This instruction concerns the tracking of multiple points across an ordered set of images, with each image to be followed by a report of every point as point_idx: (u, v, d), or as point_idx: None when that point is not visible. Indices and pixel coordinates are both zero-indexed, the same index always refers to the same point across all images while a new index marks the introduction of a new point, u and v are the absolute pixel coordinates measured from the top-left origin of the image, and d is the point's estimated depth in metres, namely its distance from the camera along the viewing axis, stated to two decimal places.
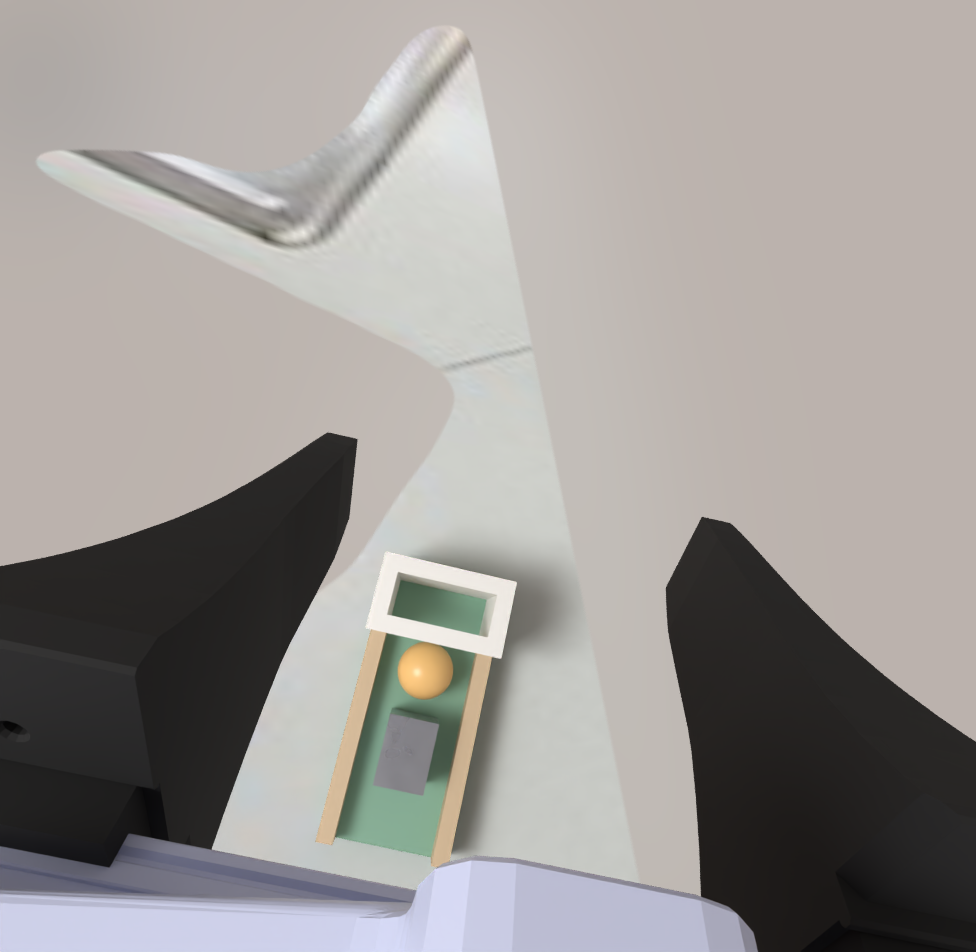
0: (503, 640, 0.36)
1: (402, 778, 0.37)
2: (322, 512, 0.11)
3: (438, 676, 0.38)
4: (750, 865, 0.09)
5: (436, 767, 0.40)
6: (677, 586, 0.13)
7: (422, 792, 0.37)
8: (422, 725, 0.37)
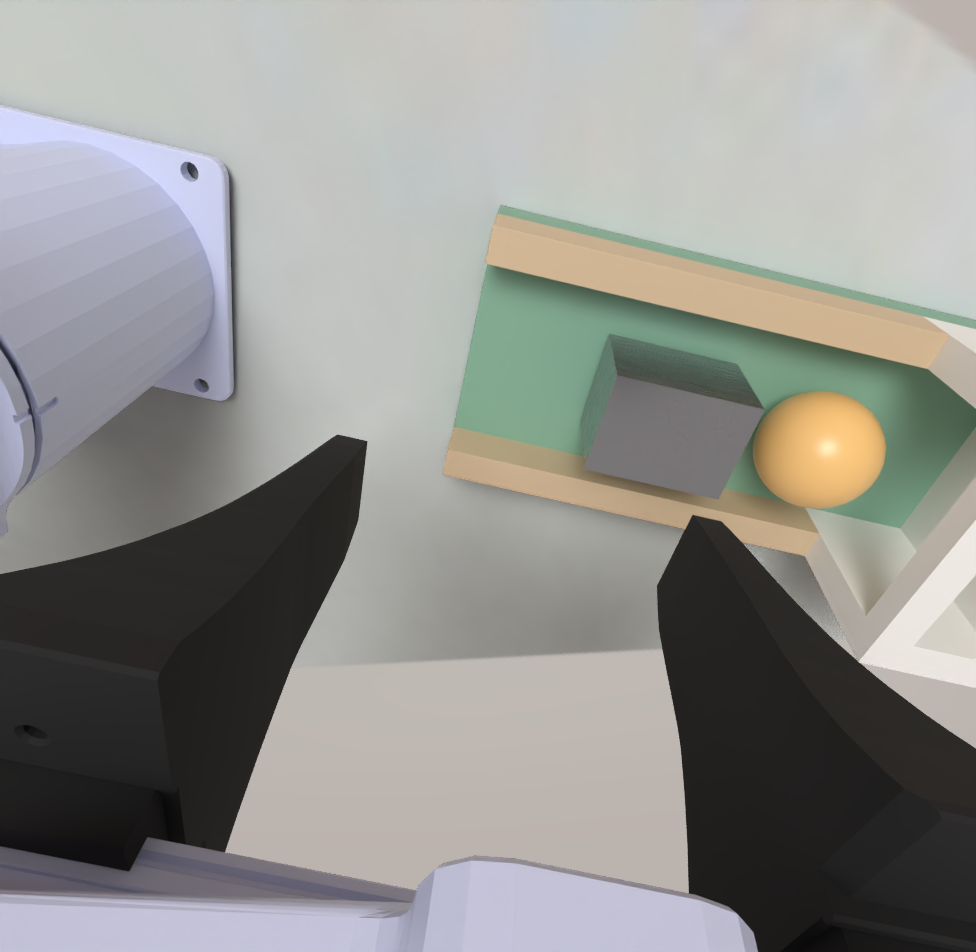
0: (895, 667, 0.17)
1: (622, 432, 0.17)
2: (333, 514, 0.11)
3: (818, 500, 0.18)
4: (736, 862, 0.09)
5: None
6: (668, 584, 0.13)
7: (590, 467, 0.18)
8: (722, 470, 0.18)
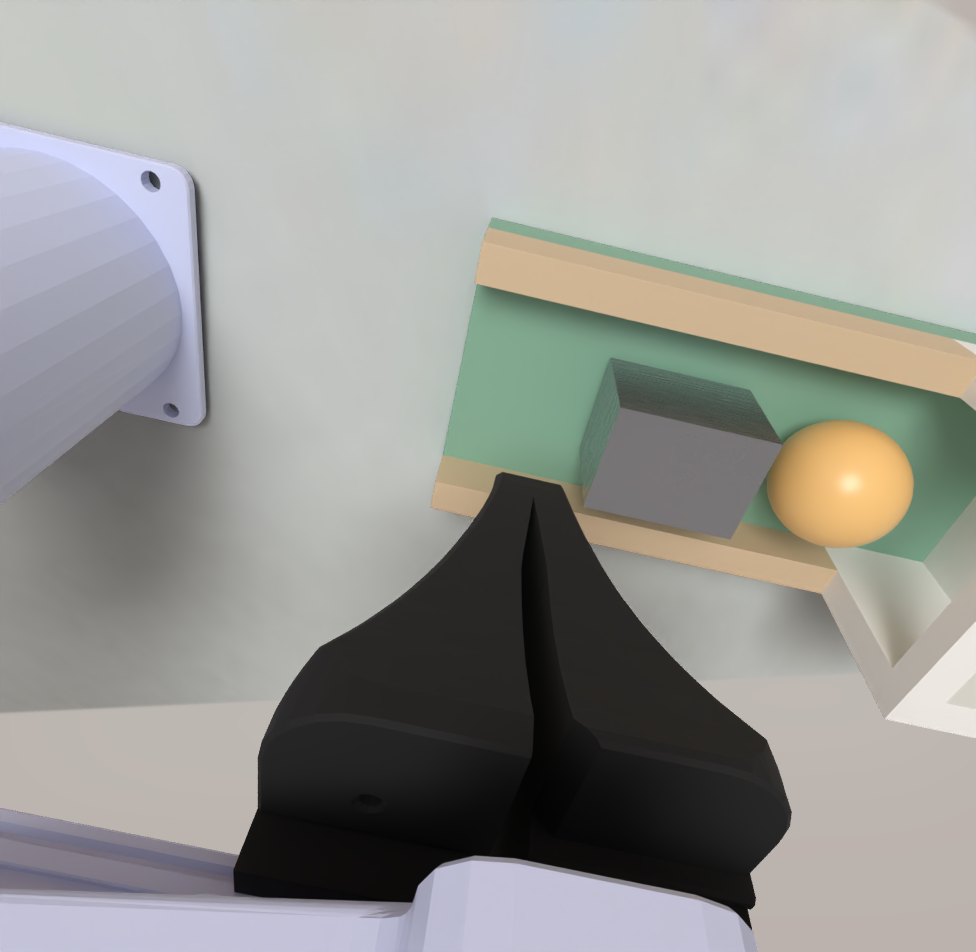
0: (924, 724, 0.16)
1: (625, 468, 0.16)
2: None
3: (839, 541, 0.16)
4: None
5: None
6: None
7: (591, 505, 0.16)
8: (735, 508, 0.16)
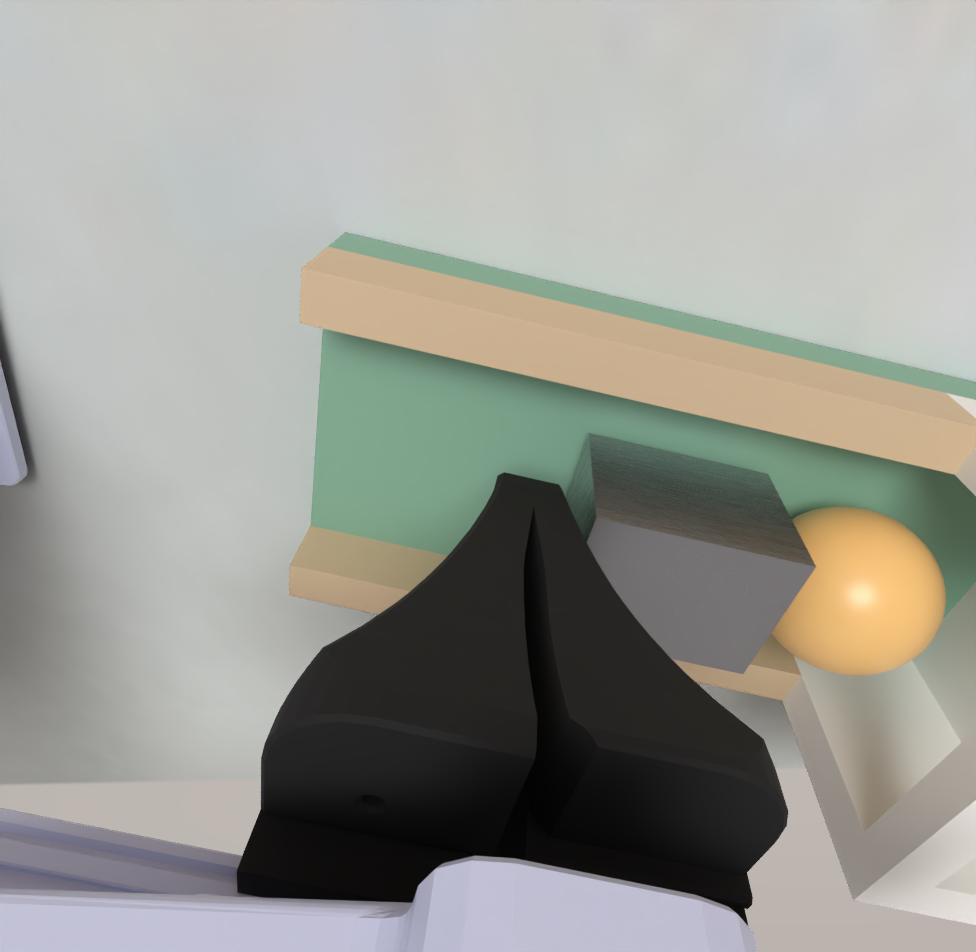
0: (907, 908, 0.12)
1: None
2: None
3: (885, 671, 0.13)
4: None
5: None
6: None
7: None
8: (750, 640, 0.12)
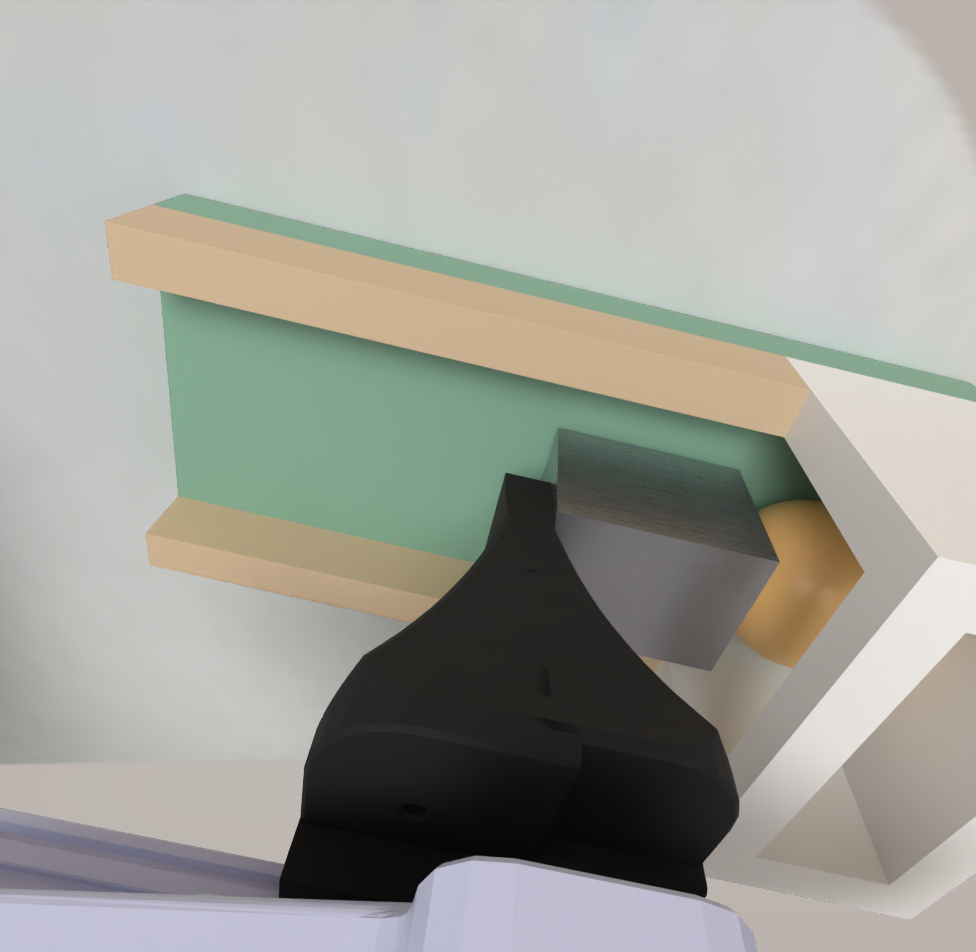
0: (735, 880, 0.12)
1: None
2: None
3: None
4: None
5: (377, 514, 0.15)
6: (487, 544, 0.13)
7: None
8: (716, 636, 0.12)
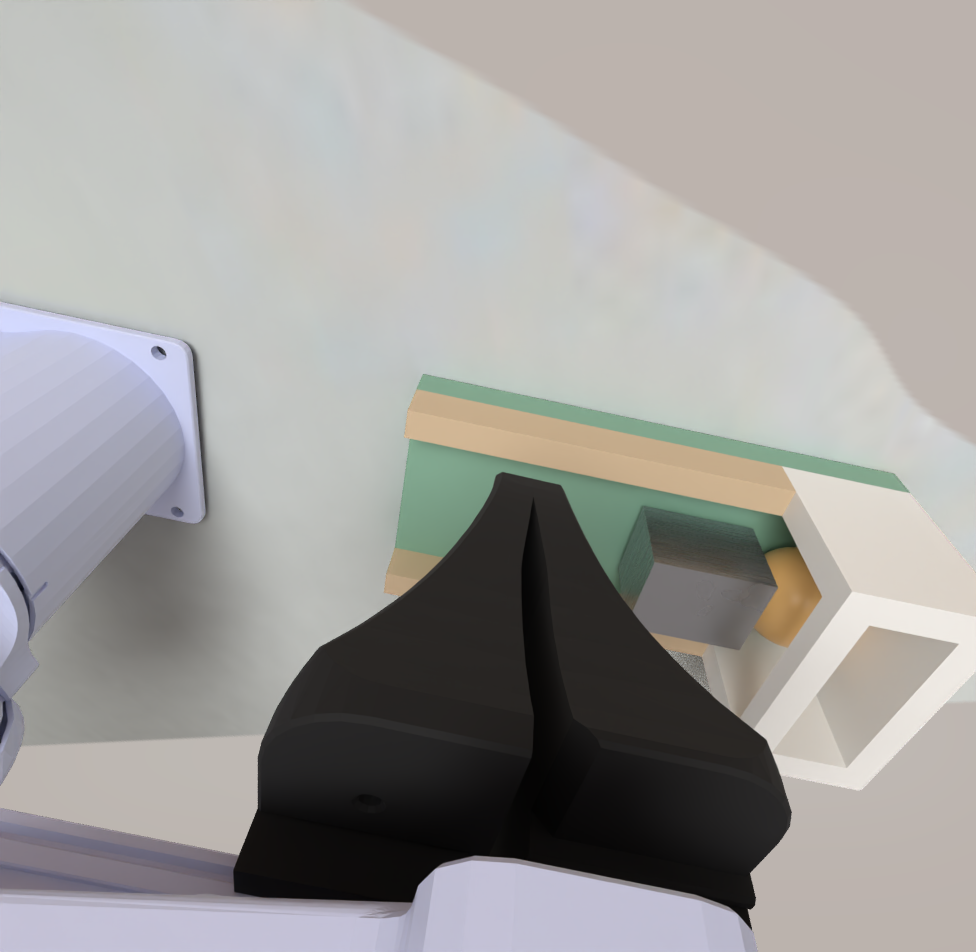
0: None
1: (658, 602, 0.21)
2: None
3: None
4: None
5: None
6: None
7: None
8: (742, 629, 0.21)
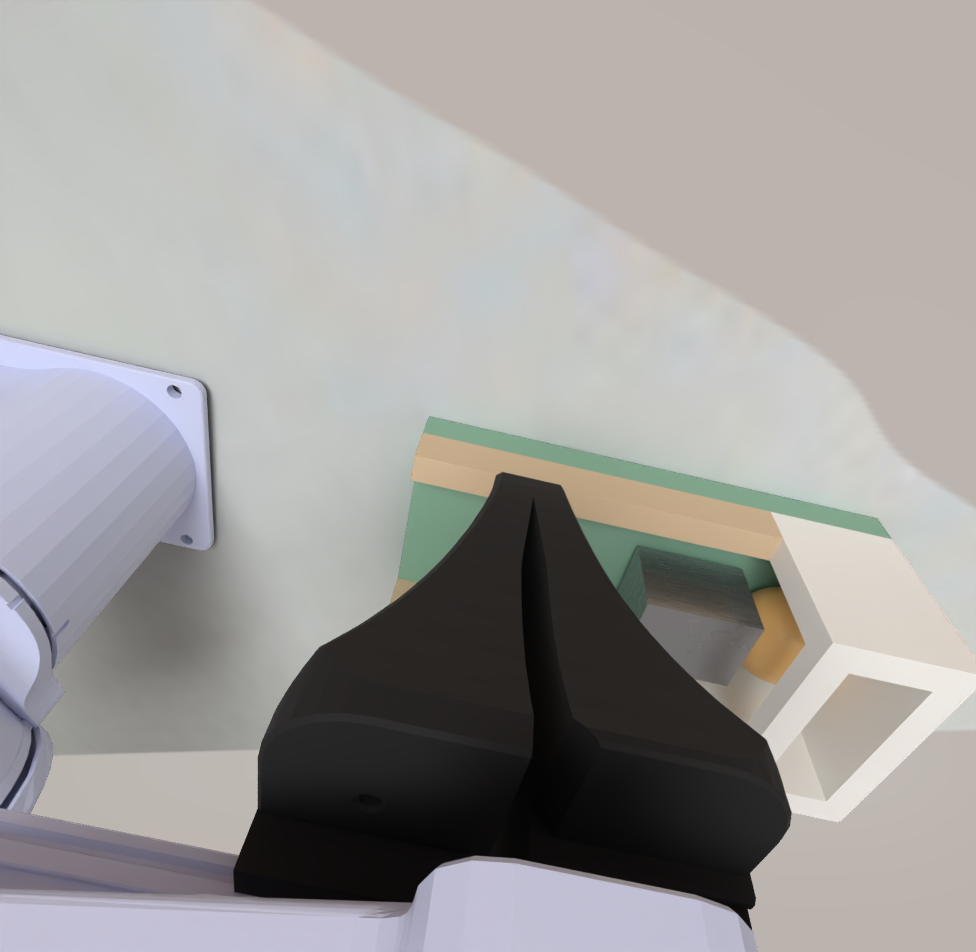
0: None
1: None
2: None
3: None
4: None
5: None
6: None
7: None
8: (730, 667, 0.22)
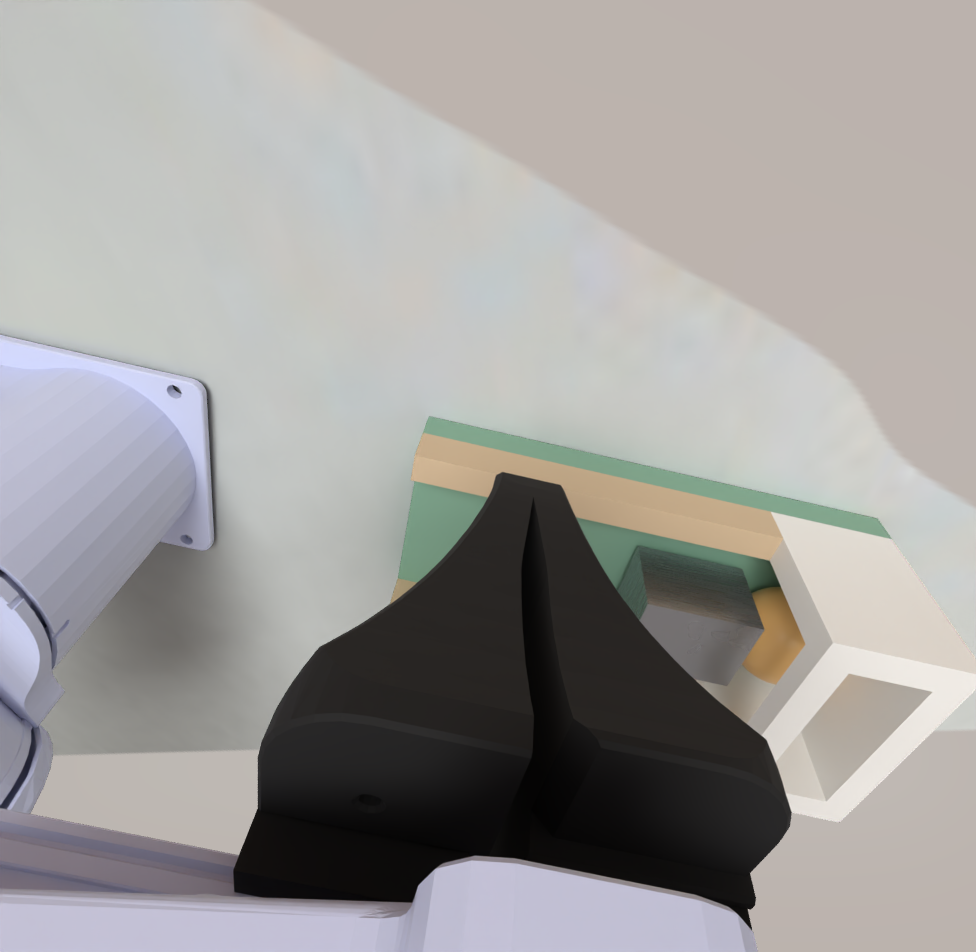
0: None
1: None
2: None
3: None
4: None
5: None
6: None
7: None
8: (730, 667, 0.22)
